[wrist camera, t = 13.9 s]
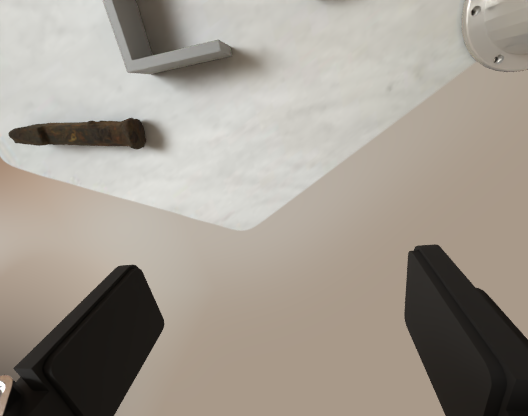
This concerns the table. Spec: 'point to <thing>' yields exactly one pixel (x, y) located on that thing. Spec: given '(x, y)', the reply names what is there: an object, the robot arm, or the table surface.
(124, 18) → the box
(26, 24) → the table surface
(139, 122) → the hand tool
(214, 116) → the table surface
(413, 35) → the table surface
